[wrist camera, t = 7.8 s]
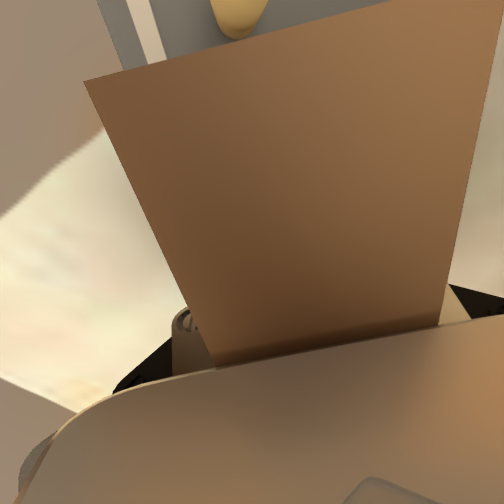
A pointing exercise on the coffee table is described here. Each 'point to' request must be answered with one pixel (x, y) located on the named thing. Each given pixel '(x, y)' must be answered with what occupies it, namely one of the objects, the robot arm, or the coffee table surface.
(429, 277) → the wooden block
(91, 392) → the coffee table surface
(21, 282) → the coffee table surface
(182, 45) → the board
